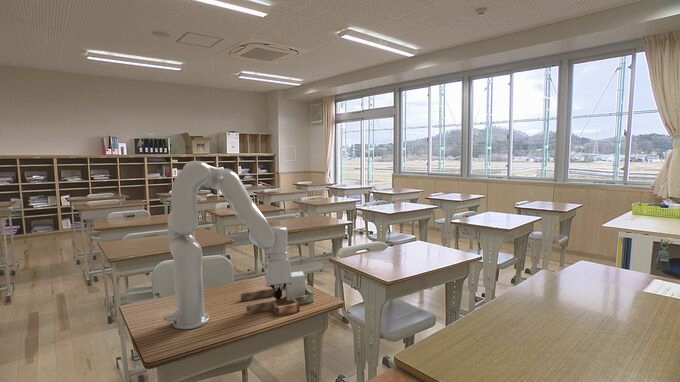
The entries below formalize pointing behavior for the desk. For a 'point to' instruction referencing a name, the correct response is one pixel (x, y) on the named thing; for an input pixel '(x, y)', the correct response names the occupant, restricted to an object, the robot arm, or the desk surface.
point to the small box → (295, 285)
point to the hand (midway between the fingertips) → (278, 298)
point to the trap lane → (272, 305)
